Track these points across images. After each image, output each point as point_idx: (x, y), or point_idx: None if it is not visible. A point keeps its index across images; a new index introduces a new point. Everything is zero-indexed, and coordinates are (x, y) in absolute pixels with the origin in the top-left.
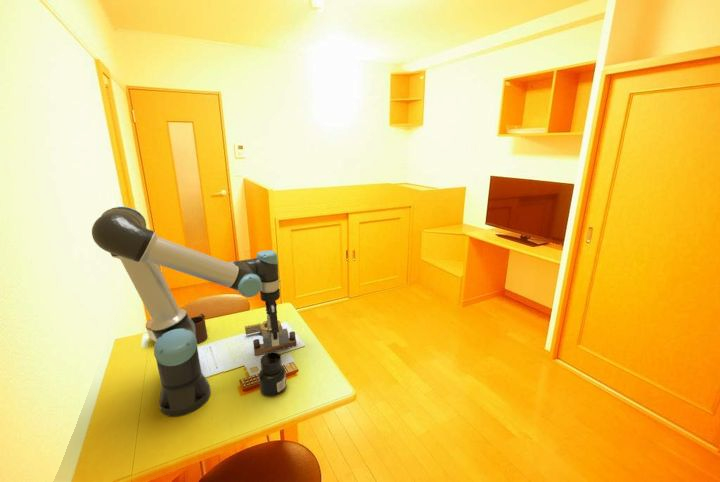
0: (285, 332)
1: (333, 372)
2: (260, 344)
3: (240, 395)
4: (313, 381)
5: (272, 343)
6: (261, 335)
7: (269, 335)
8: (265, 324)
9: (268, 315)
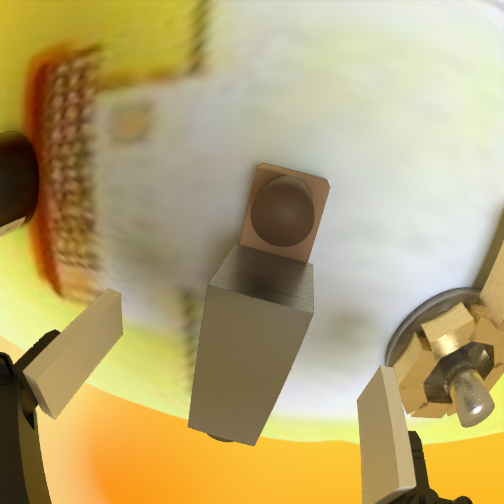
0: (204, 424)
1: None
2: (306, 238)
3: (31, 56)
4: (14, 297)
5: (93, 305)
6: (455, 289)
7: (229, 345)
8: (491, 351)
9: (392, 493)
